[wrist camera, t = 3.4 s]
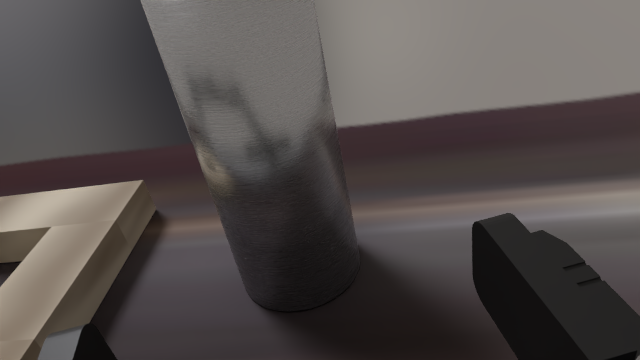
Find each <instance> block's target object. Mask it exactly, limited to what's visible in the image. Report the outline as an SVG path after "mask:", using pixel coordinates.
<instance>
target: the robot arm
mask: <svg viewBox="0 0 640 360" xmlns="http://www.w3.org/2000/svg"><path fill="white" fill-rule="evenodd" d="M472 265H473V280H474V284H475V288H476V291H477V293H478V296H479V298H480V300H481V302H482V303H483V305H484V307H485V308H486V310H487V311H488V313H489V314H490V316H491V318H492V319H493V321H494V322H495V324H496V325H497V327H498V328H499V330H500V332H501V333H502V335H503V336H504V338H505V339H506V341H507V342H508V344H509V346H510V347H511V349H512V350H513V352H514V353H515V355H516V356H517V358H518V360H640V316H639V315H638V314H637V313H636V312H635V311H634V310H633V309H632V308H631V307H630V306H629V305H628V304H627V303H626V302H625V301H624V300H623V299H622V298H621V297H620V296H619V295H618V294H617V293H616V292H615V291H614V290H613V289H612V288H611V287H610V286H609V285H608V284H607V283H606V282H605V281H602V280H601V278H600V276H599V275H598V274H597V273H596V272H595V271H594V270H593V269H592V268H591V267H590V266H589V265H586V263H585V261H584V260H583V259H582V258H581V257H580V256H579V255H578V254H577V253H576V252H575V251H574V250H573V249H572V248H571V247H570V246H569V245H568V244H567V243H566V242H564V241H562V240H560V239H558V238H556V237H554V236H553V235H551V234H549V233H547V232H545V231H543V230H541V231H537V232H533V233H530V232H529V231H528V230H527V229H526V228H525V226H524V225H523V224H522V223H521V222H520V221H519V220H518V219H517V218H516V217H515V216H514V215H513V214H511V213H506V214H503V215H499V216H495V217H491V218H488V219H484V220H480V221H476V222H474V224H473V227H472ZM37 360H117V359H116V357H115V355H114V354H113V352H112V351H111V349H110V348H109V346H108V345H107V343H106V342H105V340H104V338H103V337H102V335H101V334H100V332H99V331H98V329H97V328H96V327H95V326H94V325H93V324H90V323H88V324H84V325H80V326H77V327H73V328H69V329H65V330H62V331H58V332H54V333H51V334H49V335H48V336H47V338H46V339H45V341H44V343H43V346H42V349H41V351H40V354H39V357H38V359H37Z"/></svg>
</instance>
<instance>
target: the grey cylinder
mask: <svg viewBox="0 0 640 360" xmlns="http://www.w3.org/2000/svg"><path fill="white" fill-rule="evenodd" d="M141 3H142V6H143V8H144V11H145V14H146V17H147V19H148V22H149V25H150V28H151V30H152V33H153V36H154V38H155V41H156V44H157V47H158V50H159V52H160V55H161V58H162V61H163V63H164V66H165V69H166V72H167V74H168V77H169V80H170V83H171V85H172V88H173V91H174V94H175V96H176V99H177V101H178V105H179V107H180V110H181V113H182V115H183V118H184V121H185V124H186V127H187V129H188V132H189V135H190V137H191V140H192V143H193V146H194V149H195V151H196V154H197V157H198V160H199V162H200V165H201V168H202V171H203V173H204V176H205V179H206V182H207V184H208V187H209V190H210V193H211V195H212V198H213V201H214V204H215V206H216V209H217V212H218V215H219V217H220V220H221V223H222V226H223V228H224V231H225V234H226V237H227V239H228V242H229V245H230V248H231V251H232V253H233V256H234V259H235V262H236V264H237V267H238V270H239V273H240V275H241V278H242V281H243V284H244V286H245V289H246V291H247V293H248V295H249V296H250V297H251V298H252V299H253V300H254V301H255V302H256V303H258V304H260V305H261V306H263V307H266V308H269V309H272V310H277V311H302V310H307V309H311V308H314V307H317V306H320V305H322V304H325V303H327V302H329V301H331V300H332V299H334V298H336V297H337V296H339V295H340V294H341V293H342V292H344V291H345V290H346V289H347V288H348V287H349V286H350V284H351V283H352V282H353V280H354V279H355V277H356V275H357V273H358V270H359V266H360V255H359V249H358V244H357V238H356V233H355V227H354V222H353V216H352V210H351V205H350V199H349V194H348V188H347V183H346V177H345V172H344V166H343V160H342V155H341V149H340V144H339V138H338V133H337V127H336V122H335V116H334V110H333V105H332V99H331V94H330V88H329V83H328V77H327V72H326V67H325V61H324V55H323V49H322V44H321V38H320V33H319V27H318V22H317V16H316V11H315V5H314V0H141Z"/></svg>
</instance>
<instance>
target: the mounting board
mask: <svg viewBox="0 0 640 360" xmlns="http://www.w3.org/2000/svg"><path fill="white" fill-rule="evenodd" d="M155 211H156V207H155V205H154V203H153V201H152V198H151V196H150V194H149V192H148V190H147V188H146V185H145V183H144V181H143V180H139V181H131V182H122V183H114V184H106V185H98V186H89V187H81V188H73V189H64V190H56V191H48V192H39V193H31V194H23V195H14V196H6V197H0V263H7V262H18V261H22V262H21V263H20V265H19V266H18V267H17V268H16V269H15V270H14V272H13V273H12V274H11V275H10V276H9V278H8V279H7V280H6V281H5V282H4V283H3V285H2V286H1V287H0V360H37V359H38V357H39V354H40V351H41V349H42V346H43V343H44V341H45V339H46V338H47V336H48V335H49V334H51V333H54V332H58V331H62V330H65V329H69V328H73V327H77V326H80V325H84V324H88V323H89V322H90V321H91V319H92V317H93V316H94V314H95V312H96V311H97V309H98V307H99V305H100V304H101V302H102V300H103V299H104V297H105V295H106V294H107V292H108V290H109V289H110V287H111V285H112V283H113V282H114V280H115V278H116V277H117V275H118V273H119V272H120V270H121V268H122V266H123V265H124V263H125V261H126V260H127V258H128V256H129V255H130V253H131V251H132V250H133V248H134V246H135V244H136V243H137V241H138V239H139V238H140V236H141V234H142V233H143V231H144V229H145V227H146V226H147V224H148V222H149V221H150V219H151V217H152V216H153V214H154V212H155Z"/></svg>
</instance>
